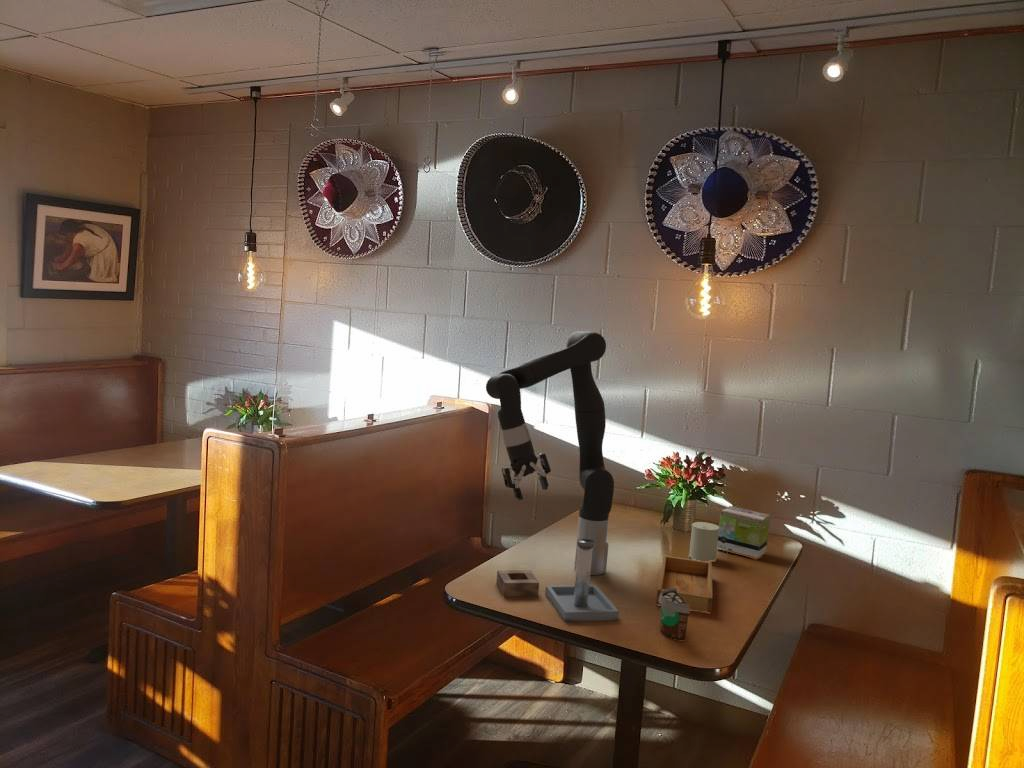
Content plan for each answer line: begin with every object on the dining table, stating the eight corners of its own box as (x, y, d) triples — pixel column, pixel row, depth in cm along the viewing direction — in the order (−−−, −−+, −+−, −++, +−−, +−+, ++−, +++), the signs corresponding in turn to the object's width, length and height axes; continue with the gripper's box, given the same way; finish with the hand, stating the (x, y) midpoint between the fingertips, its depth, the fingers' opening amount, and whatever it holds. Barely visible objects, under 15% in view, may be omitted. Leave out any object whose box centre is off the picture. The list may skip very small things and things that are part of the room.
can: (686, 559, 266) (689, 525, 264) (690, 552, 274) (694, 518, 273) (714, 565, 262) (717, 530, 261) (717, 557, 271) (721, 523, 269)
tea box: (715, 550, 278) (719, 510, 276) (724, 544, 286) (729, 504, 285) (758, 561, 270) (762, 519, 268) (766, 554, 278) (771, 513, 277)
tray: (710, 616, 219) (712, 596, 219) (655, 607, 223) (657, 588, 222) (710, 579, 249) (711, 562, 249) (661, 572, 253) (663, 555, 252)
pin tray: (594, 593, 229) (595, 584, 229) (618, 620, 211) (619, 611, 211) (545, 594, 226) (545, 585, 225) (564, 621, 207) (565, 612, 207)
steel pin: (574, 599, 221) (579, 537, 219) (591, 603, 219) (596, 540, 217) (569, 605, 217) (574, 542, 215) (586, 609, 215) (591, 545, 213)
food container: (650, 622, 211) (653, 586, 210) (672, 623, 211) (676, 587, 210) (662, 642, 199) (666, 604, 198) (686, 643, 199) (690, 605, 198)
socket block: (529, 583, 233) (530, 570, 233) (538, 596, 224) (539, 582, 223) (496, 583, 231) (497, 570, 230) (503, 596, 221) (504, 583, 221)
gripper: (502, 449, 220) (518, 504, 222) (544, 433, 227) (559, 487, 228) (490, 448, 227) (506, 501, 229) (532, 433, 233) (547, 484, 235)
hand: (533, 494), depth 228 cm, fingers open, 8 cm apart
